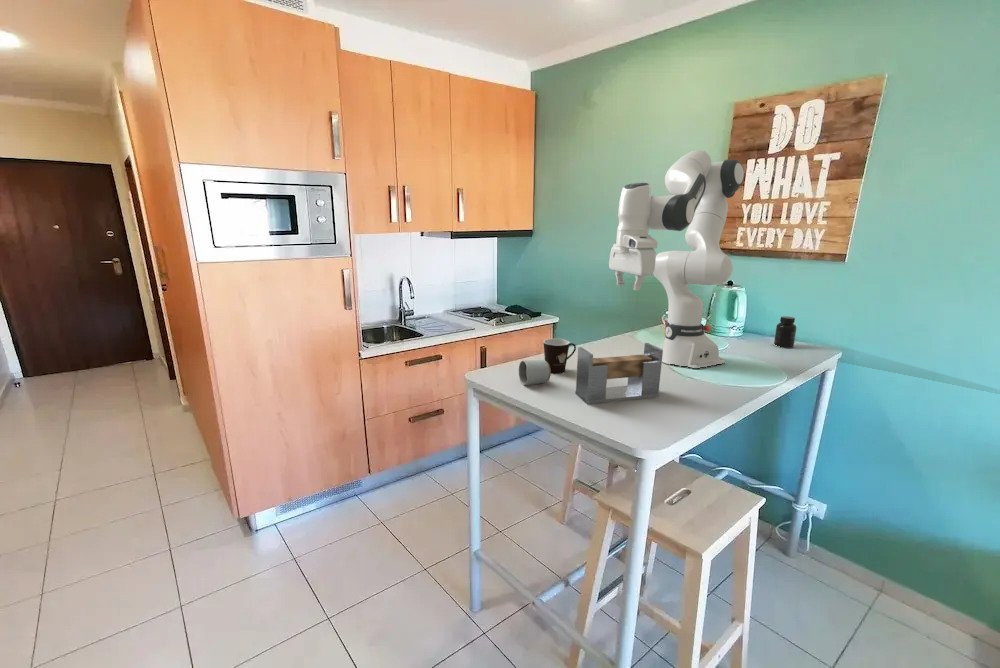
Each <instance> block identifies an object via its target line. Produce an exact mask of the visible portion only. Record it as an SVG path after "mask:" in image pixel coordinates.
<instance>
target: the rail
mask: <svg viewBox="0 0 1000 668" xmlns="http://www.w3.org/2000/svg"><path fill="white" fill-rule="evenodd" d="M632 355H633V354H632ZM651 361H652V358H650V357H648V356H646V355H643V354H634V355H633V356H630V355H621V356H619V355H618V356H610V357H607V356H606V357H593V366H599V365H607V366H608V370H607V380H612V379H615V380H616V379H624V378H627V379H628V377H639V376H641V370H642V362H651Z"/></svg>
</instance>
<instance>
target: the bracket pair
mask: <svg viewBox="0 0 1000 668" xmlns="http://www.w3.org/2000/svg"><path fill="white" fill-rule="evenodd" d="M643 346H644V347H643V354H642V355H646V356H648V357H650V358H652V361H651V362H642V370H641V376H639V377H627V385H619V386H617V385H616V386H608V387H607V382H608V381H607V380H608V379H607V370H608V366H607V365H599V366H593V358H594V354H593V353H591V352H590V351H588V350H587V349H586V348H583V347H582V346H580V347H577V363H576V365H577V366H576V381H575V383H576V384H575V393H574V394H575V395H576V396H577V397H579V399H581V400H582V402H584V403H585V404H587V405H593V404H594V405H596V404H603V403H604V404H605V403H614V402H615V403H616V402H624V401H625V402H626V401H635V400H644V399H645V400H647V399H655V398H656V397H657V398H659V396H660V394H659V392H660V382H661V374H662V373H661V371H662V364H663V362H662V355H663V350H662V348H660V347H658V346H656V345H653V344H651V343H650V342H645V343H644V345H643ZM629 356H633V354H632V355H631V354H630V355H629ZM657 398H656V399H657Z"/></svg>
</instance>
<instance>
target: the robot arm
mask: <svg viewBox="0 0 1000 668" xmlns="http://www.w3.org/2000/svg"><path fill="white" fill-rule="evenodd" d="M744 171H745V170H744V166H743V164H742V163H741V162H740V160H738V159H732V158H730V159H725V160H723V161H715V162H712V158H711V156H710V154H709V153H707V152H706V151H705V150H702V149H694V150H692V151H689V152H687V153H685V154H684V155H682V156H681V157H680V158H678V159H677V160H676V161H674V163H673V164H672V165H671V166H670V167H668V170H667V171H666V173H665V176H664V184H665V188H666V190H667V191H668V192H669V193H670V195H659V196H657V195H655V196H654V195H653V194H652V193H651V184H650V183H648V182H636V183H630V184H626V185H624V186H623V187H622V189H621V193H620V197H619V203H618V211H617V217H618V226H617V227H616V238H615V239H616V240H615V242H614V243H613V246H612V247H611V248H610V249H611V250H610V252H609V253H610V254H609V259H608V260H609V261H608V267H609V270H612V271H615V273H614V275H615V278H616V286H618V287H624V286H625V279H624V277H623V275H624V273H626V274H631V275H635V276H634V279H635V281H634V283H633V284H632V290H633V291H636V292H637V291H641V290H642V287H641V286H642V284H643V282H644V280H645V277H650V276H652V275H653V276H654V278H656V279H657V280H658V281H659V283H660V284H661V285H662V286H663V288H664V290H665V292H666V296H667V301H668V303H667V304H668V307H667V308H668V311H667V320H666V321H665V327H664V341H663V345H662V348H661V349H662V350H663V355H662V363H664V364H667V365H670V364H675V365H681V366H688V367H694V368H700V367H706V366H711V365H716V364H722V363H725V364H726V360H725V359H724V358H722V357H720V356H719V355H720V353H719V347H718V344H717V343H715V342H714V341H713V340H711V338H710V337H708V336H707V335H706V334H705V331H706V332H711V330H712V326H711V325H708V324H705V325H704V324H703V323H702V321H703V313H704V312H703V311H704V302H703V300H702V299H701V298H700V297H699V296H698V295H696V294H694V293H693V292H692V291H691V290H690V287H689V284H690V285H698V286H699V285H700V286H715V285H717V286H718V285H723V284H725V283H726V282H727V281H728V280H729V279H730V277H731V275H732V274H733V269H734V268H733V261H732V259H731V258H730V257H729V256H728V254H726V253H724V252H723V250H722V249H721V246H720V242H721V241H720V239H721V236H722V233H723V230H724V227H725V225H726V222H727V221H726V220H727V217H728V211H729V203H728V201H727V199H731V198H732V197H733V196H735V194H736V192H737V191H738V190H739V189H740V187H741V186H742V185H743V183H744V176H745V173H744ZM686 228H687V229H686ZM685 229H686V231H685V235H684V240H685V242H686V244H687V246H689V248H691V249H692V250H674V249H673V250H667V251H661V252H659V253H656V250H655V249H657V248H658V244H659V243H658V241H657V239H655V238H653V237H652V236H651V235H650V234H649V230H656V231H657V230H659V231H661V230H663V231H666V230H667V231H676V232H682V231H683V230H685ZM722 365H723V364H722ZM681 366H680V367H681ZM688 367H687V368H688ZM711 367H712V366H711ZM706 368H707V367H706ZM700 369H701V368H700Z"/></svg>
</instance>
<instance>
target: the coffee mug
mask: <svg viewBox="0 0 1000 668" xmlns="http://www.w3.org/2000/svg"><path fill="white" fill-rule="evenodd" d="M542 343H543V344H542V345H543V353H544V354H543V355H544V360H545V361H547V362H548V363H549V366H550V370H551V374H553V375H555V374H556V375H560V374H564V373H565V372H566V368H567V367H566V365H567V360H569V359H570V358H571V357H572V356H573V355H574V353H575V352H576V349H577V345H576V344H575V343H572V342H570V341H569V340H567V339H564V338H547V339H544V340H543V342H542ZM570 346H573V351H572V352H571V353H570V354H569V347H570Z"/></svg>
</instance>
